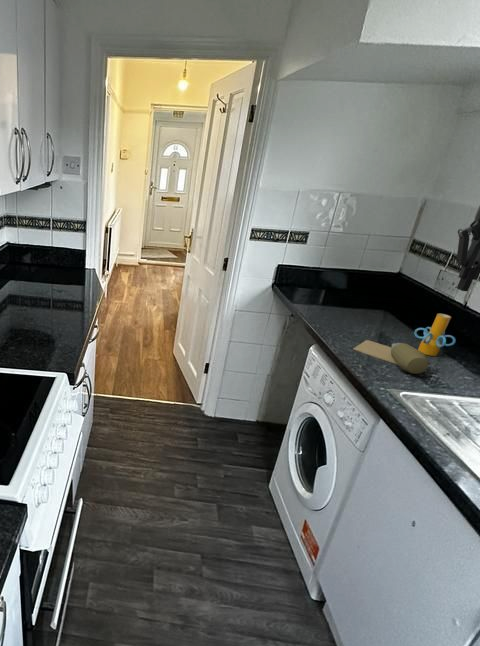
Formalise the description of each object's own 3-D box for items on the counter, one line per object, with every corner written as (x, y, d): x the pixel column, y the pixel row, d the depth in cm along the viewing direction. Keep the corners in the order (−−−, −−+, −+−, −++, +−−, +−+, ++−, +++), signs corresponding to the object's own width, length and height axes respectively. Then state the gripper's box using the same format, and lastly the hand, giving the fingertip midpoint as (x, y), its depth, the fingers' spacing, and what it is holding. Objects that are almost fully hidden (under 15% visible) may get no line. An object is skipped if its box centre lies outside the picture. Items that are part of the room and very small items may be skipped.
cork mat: (420, 358, 149) (421, 356, 149) (409, 368, 141) (410, 367, 141) (366, 341, 162) (366, 339, 162) (352, 349, 153) (353, 348, 153)
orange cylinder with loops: (403, 343, 160) (419, 307, 154) (432, 347, 159) (449, 311, 153) (421, 358, 149) (438, 320, 143) (452, 362, 148) (471, 324, 142)
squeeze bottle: (405, 355, 133) (382, 334, 150) (402, 377, 136) (379, 355, 152) (434, 354, 131) (407, 334, 148) (430, 377, 134) (404, 354, 151)
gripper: (516, 205, 112) (479, 288, 122) (462, 201, 115) (430, 283, 124) (537, 208, 106) (496, 296, 115) (479, 204, 108) (443, 290, 118)
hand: (462, 289), depth 120 cm, fingers closed
